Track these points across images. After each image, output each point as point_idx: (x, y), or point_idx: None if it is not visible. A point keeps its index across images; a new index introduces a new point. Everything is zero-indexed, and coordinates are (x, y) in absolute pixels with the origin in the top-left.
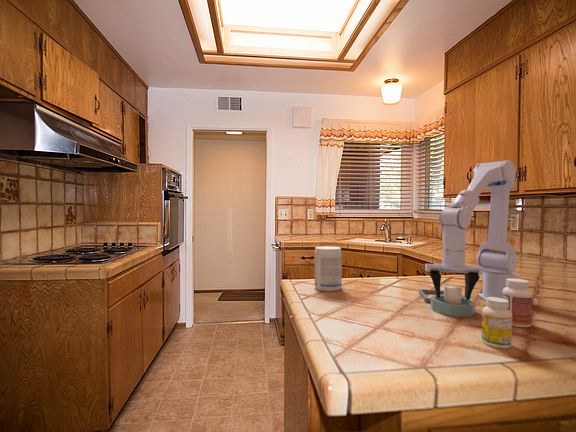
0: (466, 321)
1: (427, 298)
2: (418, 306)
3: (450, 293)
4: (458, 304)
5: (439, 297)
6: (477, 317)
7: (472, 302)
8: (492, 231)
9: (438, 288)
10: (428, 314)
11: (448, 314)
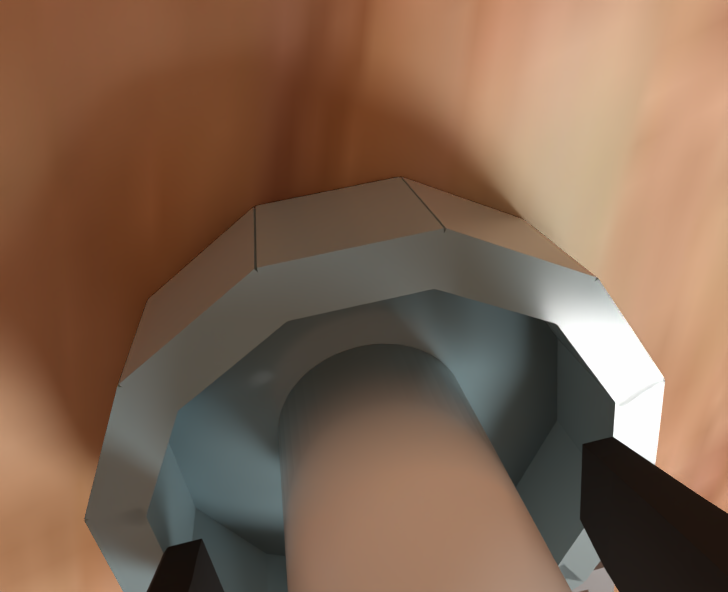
0: (226, 10)
1: (594, 571)
2: (697, 374)
3: (481, 511)
4: (321, 415)
5: (591, 445)
6: (86, 278)
7: (129, 515)
8: None
9: (722, 537)
10: (674, 117)
11: (441, 195)
